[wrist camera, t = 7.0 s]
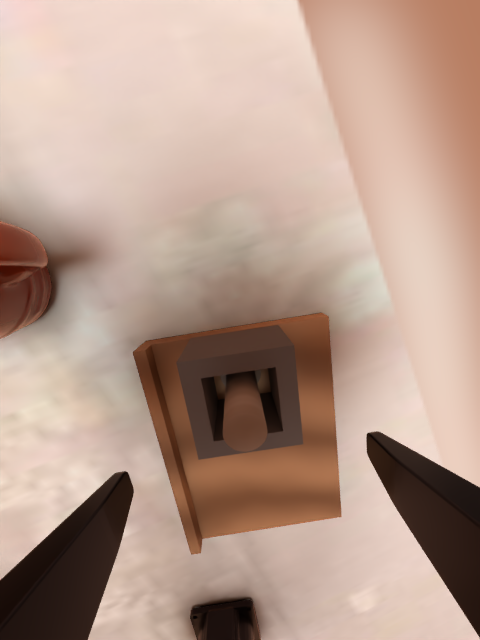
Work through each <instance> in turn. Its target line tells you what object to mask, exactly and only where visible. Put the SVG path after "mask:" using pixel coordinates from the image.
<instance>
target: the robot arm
mask: <svg viewBox="0 0 480 640" xmlns="http://www.w3.org/2000/svg"><path fill="white" fill-rule="evenodd" d="M367 454H368V457H369V459H370V461H371V463H372V464H373V466H374V468H375V470H376V472H377V474H378V476H379V478H380V479H381V481H382V483H383V485H384V487H385V489H386V491H387V493H388V494H389V496H390V498H391V500H392V502H393V504H394V505H395V507H396V509H397V510H398V512H399V513H400V515H401V516H402V518H403V520H404V521H405V523H406V524H407V526H408V527H409V529H410V530H411V532H412V533H413V535H414V537H415V538H416V540H417V541H418V543H419V544H420V546H421V547H422V549H423V551H424V552H425V554H426V555H427V557H428V558H429V560H430V561H431V563H432V564H433V566H434V568H435V569H436V571H437V572H438V574H439V575H440V577H441V578H442V580H443V581H444V583H445V585H446V586H447V588H448V589H449V591H450V592H451V594H452V595H453V597H454V598H455V600H456V602H457V603H458V605H459V606H460V608H461V609H462V611H463V612H464V614H465V616H466V617H467V619H468V620H469V622H470V623H471V625H472V626H473V628H474V629H475V631H476V633H477V634H478V636H479V637H480V487H478V486H476V485H474V484H472V483H471V482H469V481H467V480H465V479H463V478H462V477H460V476H458V475H456V474H454V473H453V472H451V471H449V470H447V469H445V468H444V467H442V466H440V465H438V464H436V463H435V462H433V461H431V460H429V459H427V458H426V457H424V456H422V455H420V454H419V453H417V452H415V451H413V450H411V449H410V448H408V447H406V446H404V445H402V444H401V443H399V442H397V441H395V440H393V439H392V438H390V437H388V436H386V435H384V434H383V433H381V432H377V431H376V432H370V433H368V434H367ZM133 493H134V490H133V485H132V483H131V480H130V477H129V474H128V472H126V471H124V472H118V473H115V474H114V475H112V476H111V477H110V478H109V479H108V480H107V481H106V482H105V483H104V484H103V485H102V486H101V487H100V488H99V489H97V490H96V491H95V492H94V493H93V494H92V495H91V496H90V497H89V498H88V499H87V500H86V501H85V502H84V503H82V504H81V505H80V506H79V507H78V508H77V509H76V510H75V511H74V512H73V513H72V514H71V515H70V516H69V517H67V518H66V519H65V520H64V521H63V522H62V523H61V524H60V525H59V526H58V527H57V528H56V529H55V530H54V531H53V532H51V533H50V534H49V535H48V536H47V537H46V538H45V539H44V540H43V541H42V542H41V543H40V544H39V545H38V546H36V547H35V548H34V549H33V550H32V551H31V552H30V553H29V554H28V555H27V556H26V557H25V558H24V559H23V560H21V561H20V562H19V563H18V564H17V565H16V566H15V567H14V568H13V569H12V570H11V571H10V572H9V573H8V574H6V575H5V576H4V577H3V578H2V579H1V580H0V640H88V637H89V634H90V631H91V628H92V625H93V623H94V620H95V617H96V614H97V611H98V608H99V605H100V602H101V600H102V597H103V594H104V591H105V588H106V585H107V582H108V579H109V576H110V574H111V571H112V568H113V565H114V562H115V559H116V556H117V553H118V550H119V547H120V543H121V540H122V536H123V532H124V529H125V525H126V521H127V517H128V513H129V510H130V506H131V502H132V498H133ZM190 619H191V622H192V625H193V628H194V631H195V635H196V638H197V640H261V637H260V632H259V627H258V622H257V618H256V613H255V608H254V604H253V601H251V600H245V601H238V602H232V603H225V604H219V605H213V606H206V607H200V608H194V609H192V610H191V615H190Z"/></svg>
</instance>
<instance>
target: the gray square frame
mask: <svg viewBox="0 0 480 640" xmlns="http://www.w3.org/2000/svg"><path fill="white" fill-rule="evenodd" d="M176 364H177V368H178V373H179V377H180V381H181V386H182V390H183V394H184V399H185V403H186V407H187V412H188V416H189V420H190V425H191V429H192V433H193V438H194V442H195V447H196V451H197V455H198V460H201V459H208V458H214V457H221V456H228V455H234V454H241V453H248V452H255V451H261V450H268V449H275V448H282V447H288V446H295V445H302V444H303V434H302V423H301V413H300V402H299V391H298V380H297V369H296V359H295V348H294V344H293V343H292V342H291V340H290V339H289V338H288V337H287V335H286V334H285V333H284V332H283V330H282V329H281V328H280V326H279V325H274V326H268V327H261V328H254V329H248V330H241V331H234V332H227V333H221V334H214V335H207V336H201V337H194V338H190V340H189V342H188V343H187V345H186V347H185V349H184V350H183V352H182V354H181V355H180V357H179V359H178V360H177V362H176ZM267 368H268V372H269V380H270V387H271V392H267V393H261V394H260V398H261V402H262V407H263V412H264V416H265V421H266V426H267V438H266V440H265V442H264V443H263V444H262V445H261V446H260V447H259V448H257V449H255V450H252V451H248V452H241V451H237V450H234V449H232V448H231V447H229V446H228V445H227V444H226V442H225V440H224V438H223V421H224V403H225V399H220V400H218V396H217V391H216V386H215V380H214V376H220V375H227V374H233V373H240V372H247V371H254V370H260V369H267Z"/></svg>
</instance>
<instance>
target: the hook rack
mask: <svg viewBox="0 0 480 640" xmlns="http://www.w3.org/2000/svg"><path fill="white" fill-rule="evenodd" d="M274 325H279V326H280V328H281V329H282V330H283V332H284V333H285V334H286V335H287V337H288V338H289V339H290V340H291V342H292V343H293V344H294V348H295V359H296V369H297V380H298V391H299V402H300V413H301V423H302V434H303V444H302V445H295V446H288V447H282V448H275V449H268V450H261V451H255V452H248V451H252V450H255V449H257V448H259V447H260V446H261V445H262V444H263V443H264V442H265V440H266V438H267V426H266V421H265V416H264V412H263V407H262V402H261V398H260V394H261V393H267V392H271V387H270V380H269V372H268V368H267V369H260V370H254V371H247V372H240V373H233V374H227V375H220V376H214V380H215V386H216V391H217V396H218V400H220V399H225V403H224V421H223V438H224V440H225V442H226V444H227V445H228V446H229V447H231V448H232V449H234V450H237V451H241V452H248V453H241V454H234V455H228V456H221V457H214V458H208V459H201V460H198V455H197V451H196V447H195V442H194V438H193V433H192V429H191V425H190V420H189V416H188V412H187V407H186V403H185V399H184V394H183V390H182V386H181V381H180V377H179V373H178V368H177V364H176V362H177V360H178V359H179V357H180V355H181V354H182V352H183V350H184V349H185V347H186V345H187V343H188V342H189V340H190V338H194V337H201V336H207V335H214V334H221V333H227V332H234V331H241V330H248V329H254V328H261V327H268V326H274ZM133 355H134V359H135V362H136V366H137V369H138V373H139V376H140V379H141V383H142V386H143V390H144V393H145V397H146V400H147V404H148V407H149V410H150V414H151V417H152V421H153V424H154V428H155V431H156V435H157V438H158V442H159V445H160V448H161V452H162V455H163V459H164V462H165V466H166V469H167V473H168V476H169V480H170V483H171V486H172V490H173V493H174V497H175V500H176V504H177V507H178V511H179V514H180V517H181V521H182V524H183V528H184V531H185V535H186V538H187V542H188V545H189V549H190V552H191V554H198V553H201V547H202V539H203V538H210V537H216V536H222V535H229V534H235V533H241V532H248V531H254V530H260V529H267V528H273V527H280V526H286V525H292V524H299V523H305V522H311V521H318V520H324V519H330V518H337V517H341V502H340V486H339V471H338V455H337V440H336V425H335V409H334V394H333V378H332V363H331V348H330V332H329V317H328V316H327V315H325V314H323V313H317V314H311V315H305V316H298V317H292V318H286V319H280V320H274V321H267V322H261V323H255V324H249V325H242V326H236V327H230V328H224V329H218V330H211V331H205V332H199V333H193V334H187V335H180V336H174V337H168V338H162V339H155V340H149V341H145V342H144V343H143V344H142V345H141V346H139V347H138V348H137V349H136V350H135V351H134V352H133Z"/></svg>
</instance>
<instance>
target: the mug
mask: <svg viewBox="0 0 480 640" xmlns="http://www.w3.org/2000/svg"><path fill="white" fill-rule="evenodd" d="M47 263H48V257H47V254H46V251H45V249H44V247H43V245H42V243H41V241H40V240H39V239H38V238H37V237H36V236H35V235H34V234H32V233H31V232H29V231H27V230H25V229H22V228H20V227H17V226H14V225H11V224H8V223H4V222H1V221H0V339H1V338H4V337H6V336H8V335H10V334H11V333H13V332H15V331H17V330H19V329H21V328H23V327H25V326H27V325H29V324H31V323H33V322H34V321H35V320H37V319H38V318H39V317H40V316H41V315H42V313H43V312H44V311H45V309H46V307H47V305H48V302H49V299H50V295H51V290H52V285H51V279H50V274H49V271H48V268H47V266H46V265H47Z"/></svg>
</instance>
